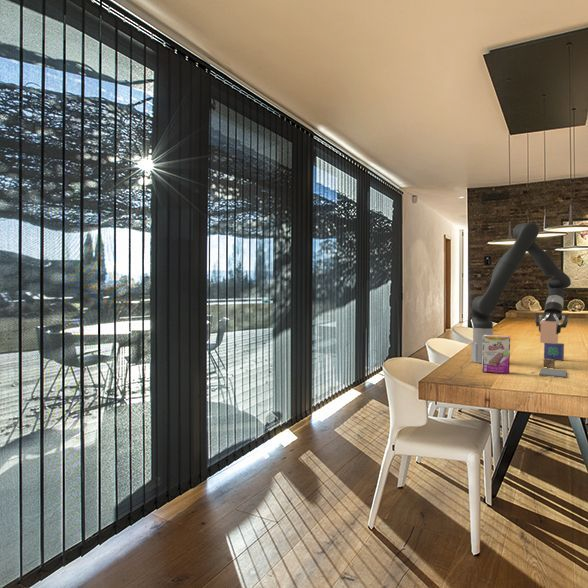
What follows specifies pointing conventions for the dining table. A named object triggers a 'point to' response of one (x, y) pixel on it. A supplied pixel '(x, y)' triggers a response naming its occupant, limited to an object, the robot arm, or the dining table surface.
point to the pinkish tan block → (549, 332)
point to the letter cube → (549, 363)
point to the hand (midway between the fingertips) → (549, 332)
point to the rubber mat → (553, 372)
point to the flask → (554, 351)
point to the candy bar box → (496, 354)
